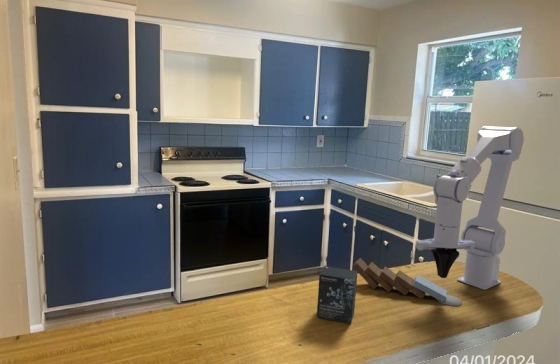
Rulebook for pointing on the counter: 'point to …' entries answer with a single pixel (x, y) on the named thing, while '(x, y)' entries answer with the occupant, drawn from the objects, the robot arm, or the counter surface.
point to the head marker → (451, 301)
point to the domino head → (430, 288)
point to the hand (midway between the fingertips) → (442, 276)
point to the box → (336, 294)
